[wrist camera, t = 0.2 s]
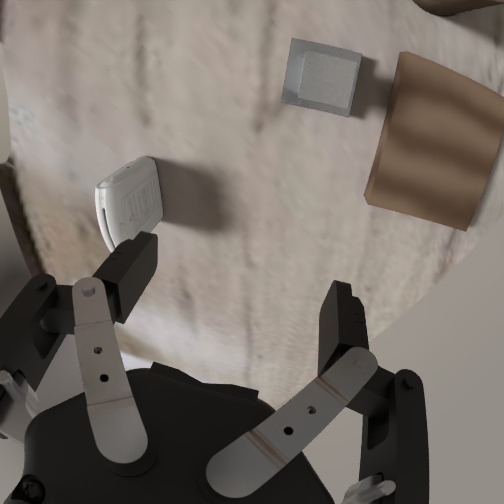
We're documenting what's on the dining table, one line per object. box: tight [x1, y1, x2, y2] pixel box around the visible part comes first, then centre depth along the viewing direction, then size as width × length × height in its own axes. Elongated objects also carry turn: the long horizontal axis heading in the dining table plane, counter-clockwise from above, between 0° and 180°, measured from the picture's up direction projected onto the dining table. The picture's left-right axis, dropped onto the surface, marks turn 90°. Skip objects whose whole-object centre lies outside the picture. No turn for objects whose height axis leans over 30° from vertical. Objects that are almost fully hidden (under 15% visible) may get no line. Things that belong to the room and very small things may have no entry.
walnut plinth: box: [364, 52, 504, 231], centre depth 33 cm, size 20×16×3 cm
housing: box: [281, 38, 362, 117], centre depth 29 cm, size 8×8×11 cm
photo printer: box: [95, 156, 163, 253], centre depth 39 cm, size 10×4×12 cm, turn 2°
